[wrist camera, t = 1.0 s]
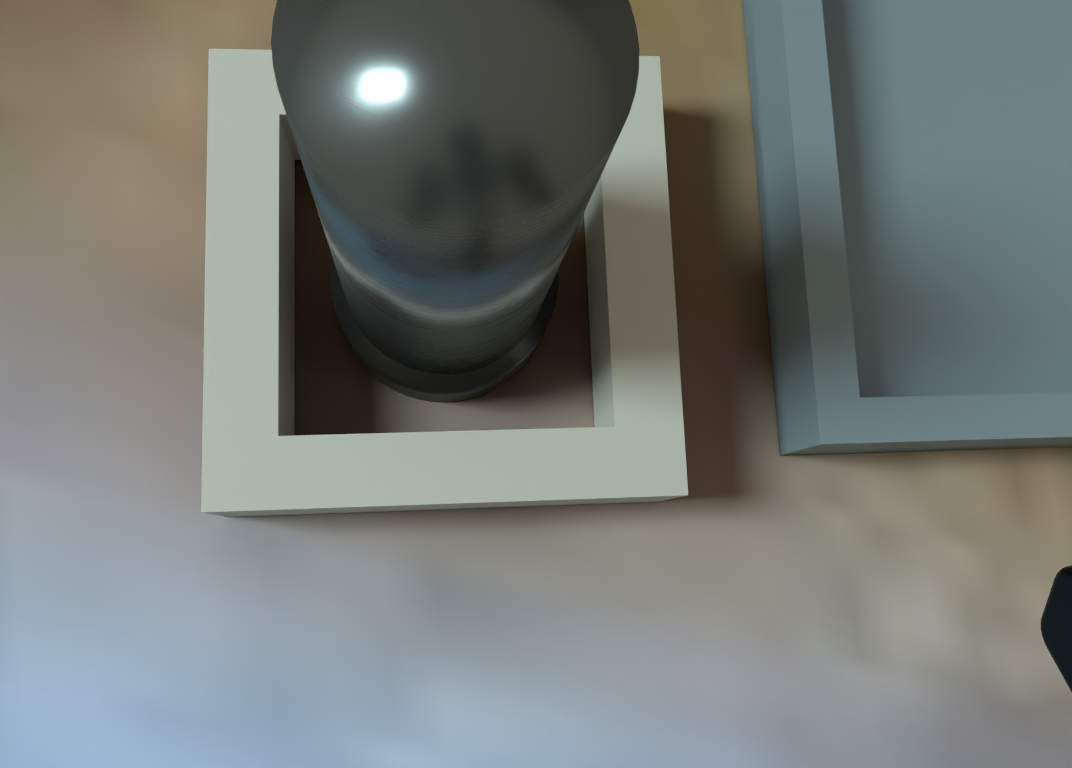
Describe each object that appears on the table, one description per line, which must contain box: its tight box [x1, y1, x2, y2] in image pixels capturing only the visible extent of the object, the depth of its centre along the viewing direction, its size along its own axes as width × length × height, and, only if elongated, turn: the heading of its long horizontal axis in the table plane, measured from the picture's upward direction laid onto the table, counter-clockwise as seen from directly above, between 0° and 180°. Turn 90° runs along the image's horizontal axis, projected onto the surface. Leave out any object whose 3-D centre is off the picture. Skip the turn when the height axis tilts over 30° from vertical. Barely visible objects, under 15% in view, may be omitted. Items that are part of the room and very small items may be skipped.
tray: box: [743, 0, 1072, 455], centre depth 24 cm, size 14×14×2 cm
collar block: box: [201, 49, 688, 517], centre depth 22 cm, size 10×10×2 cm
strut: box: [271, 0, 639, 402], centre depth 18 cm, size 5×5×12 cm
